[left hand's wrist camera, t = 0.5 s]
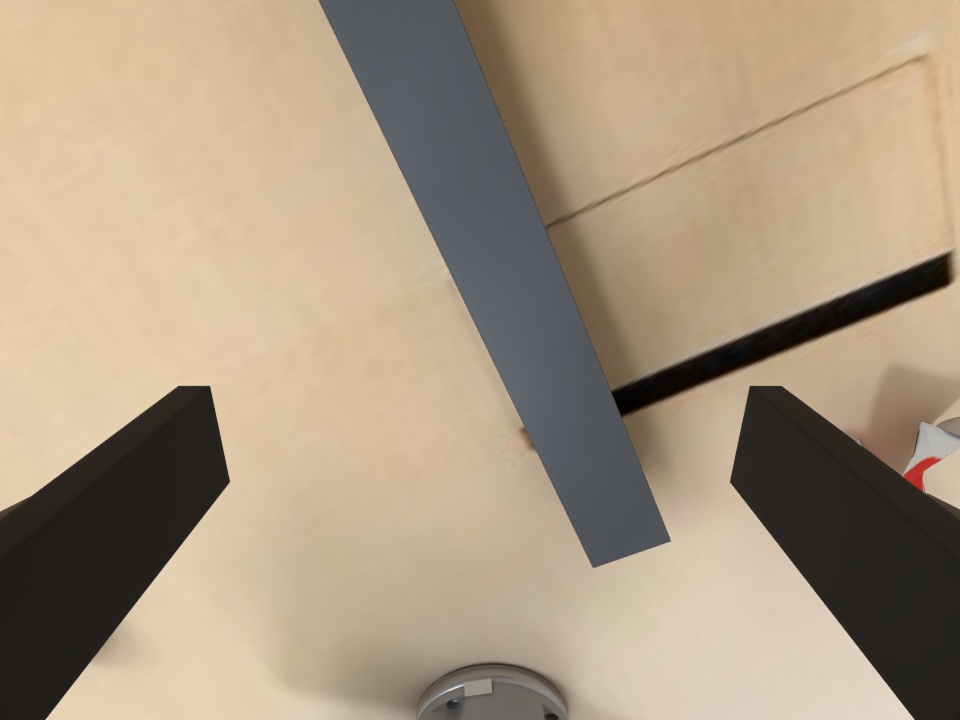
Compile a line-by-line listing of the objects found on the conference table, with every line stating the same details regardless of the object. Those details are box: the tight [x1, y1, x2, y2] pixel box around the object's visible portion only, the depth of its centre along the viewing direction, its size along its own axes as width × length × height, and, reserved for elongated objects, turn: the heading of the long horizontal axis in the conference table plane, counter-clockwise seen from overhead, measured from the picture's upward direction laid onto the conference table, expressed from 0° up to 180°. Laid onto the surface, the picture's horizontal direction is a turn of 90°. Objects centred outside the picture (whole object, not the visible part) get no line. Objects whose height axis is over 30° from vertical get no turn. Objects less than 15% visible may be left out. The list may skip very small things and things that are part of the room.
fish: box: [856, 417, 960, 494], centre depth 37 cm, size 11×16×10 cm
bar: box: [319, 0, 671, 568], centre depth 29 cm, size 59×6×8 cm, turn 25°
